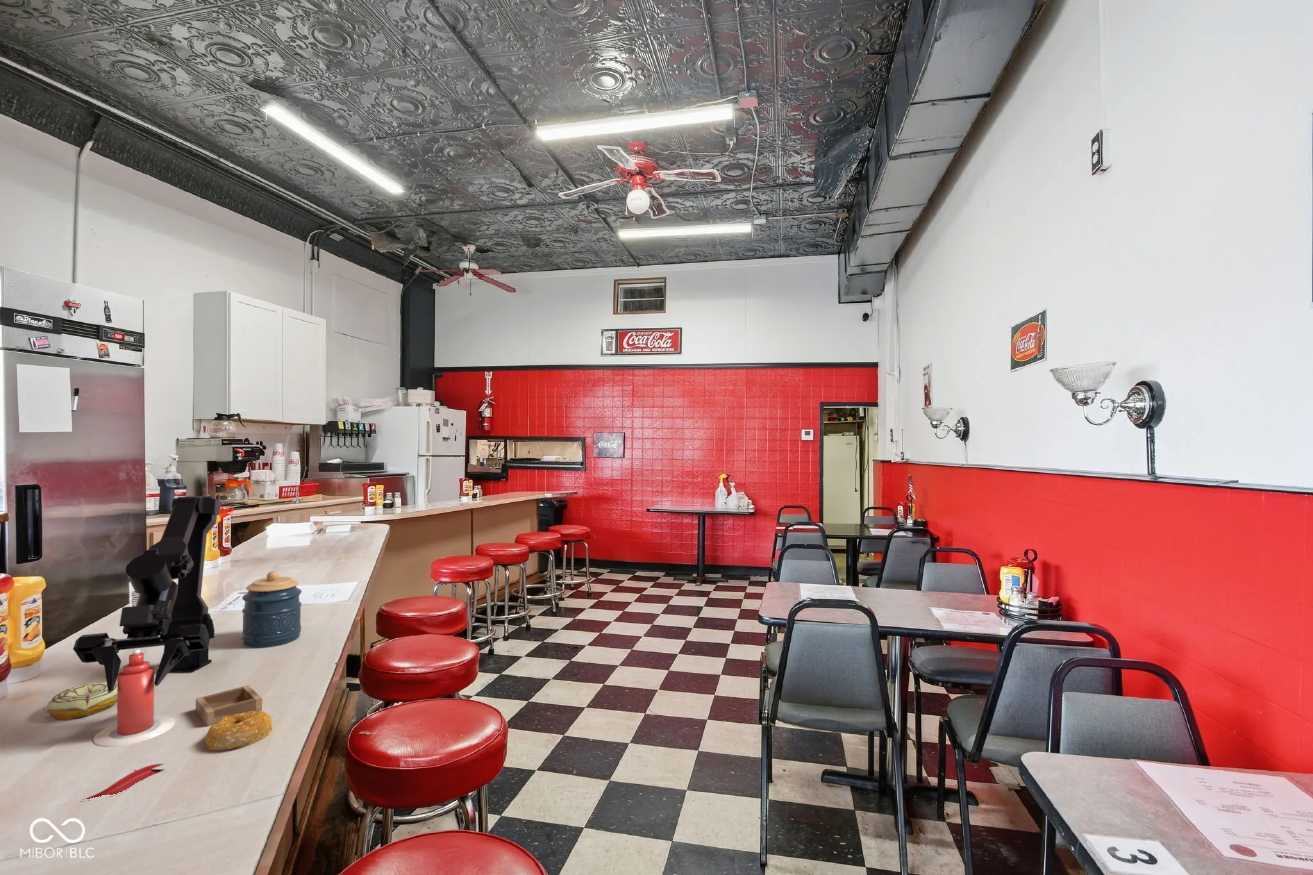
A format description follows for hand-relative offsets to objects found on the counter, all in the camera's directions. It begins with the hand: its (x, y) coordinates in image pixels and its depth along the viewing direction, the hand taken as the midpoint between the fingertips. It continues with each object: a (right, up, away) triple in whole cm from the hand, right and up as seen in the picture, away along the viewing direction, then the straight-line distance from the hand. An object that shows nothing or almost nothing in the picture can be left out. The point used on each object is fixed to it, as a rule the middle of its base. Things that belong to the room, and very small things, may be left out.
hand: (133, 687), depth 107 cm
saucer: (-1, -9, +1) cm, 9 cm away
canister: (-7, -8, +50) cm, 52 cm away
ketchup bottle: (-1, -8, +1) cm, 8 cm away
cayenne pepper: (+11, -10, -14) cm, 20 cm away
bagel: (+19, -9, 0) cm, 21 cm away
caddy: (+10, -9, +9) cm, 16 cm away
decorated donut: (-19, -9, +11) cm, 23 cm away
